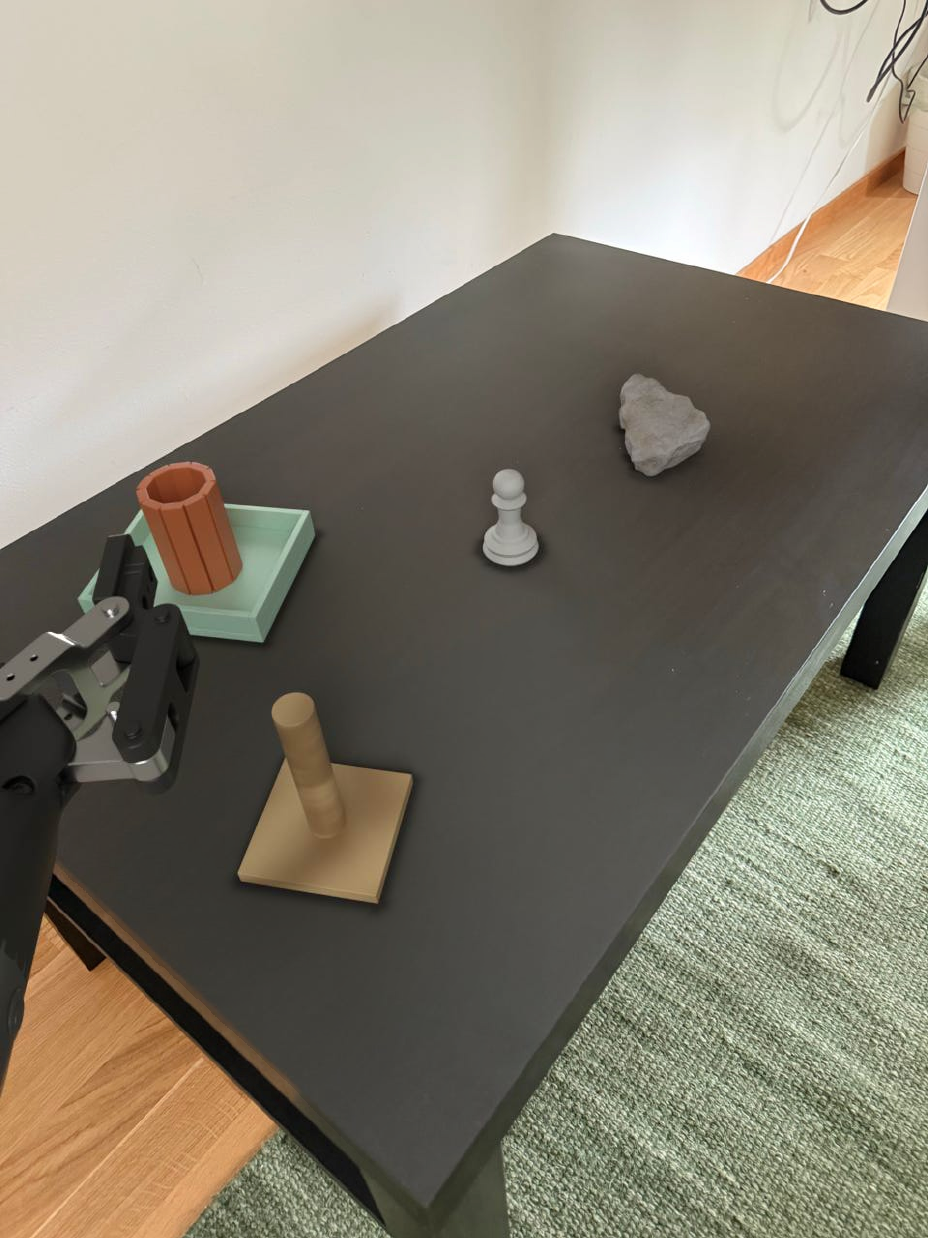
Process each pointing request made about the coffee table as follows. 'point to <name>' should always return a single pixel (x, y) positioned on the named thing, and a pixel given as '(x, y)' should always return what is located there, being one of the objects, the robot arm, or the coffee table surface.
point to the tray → (259, 590)
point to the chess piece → (509, 523)
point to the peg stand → (324, 816)
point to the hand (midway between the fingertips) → (12, 565)
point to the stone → (659, 425)
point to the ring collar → (190, 527)
